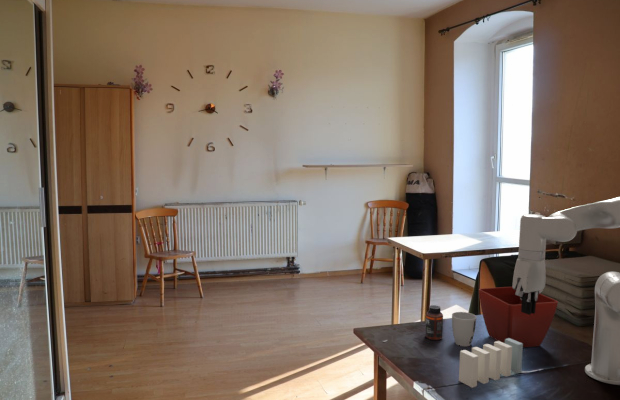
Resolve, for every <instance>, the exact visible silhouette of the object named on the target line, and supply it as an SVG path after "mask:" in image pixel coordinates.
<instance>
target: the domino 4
mask: <svg viewBox="0 0 620 400" xmlns="http://www.w3.org/2000/svg"><path fill="white" fill-rule="evenodd" d="M493 346H494V347H497V348H499V349H501V365H500V375H502V376H504V377H505V378H506V377H509V376H511V375H512V371H511V361H512V346H510V345H508V344H505V343H503V342H500V341H497V340H495V341H494V342H493Z"/></svg>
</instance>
